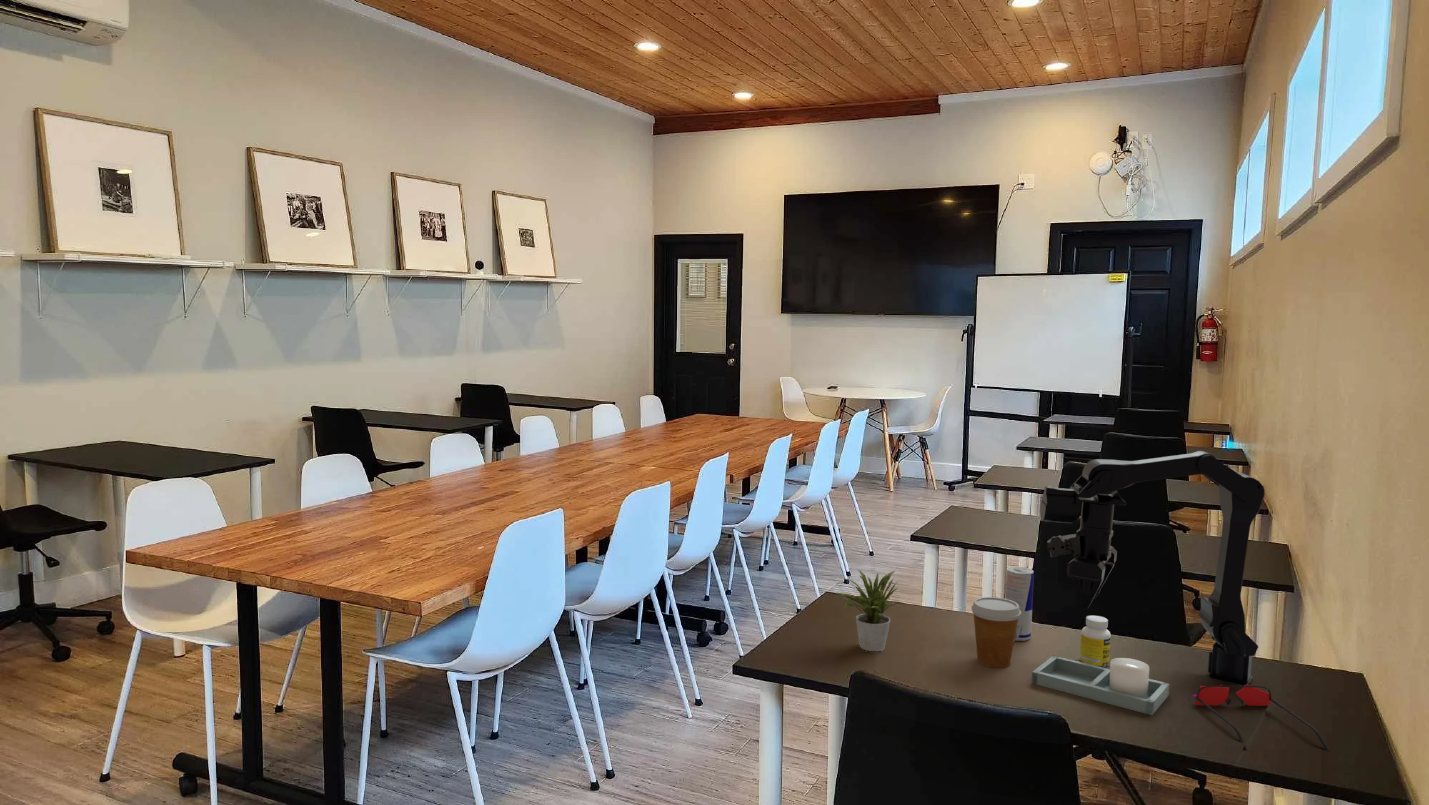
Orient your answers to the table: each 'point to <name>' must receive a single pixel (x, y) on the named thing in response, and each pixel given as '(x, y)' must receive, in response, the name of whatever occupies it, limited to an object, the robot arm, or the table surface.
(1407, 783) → the table surface
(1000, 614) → the disposable coffee cup
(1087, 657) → the supplement bottle
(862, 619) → the house plant
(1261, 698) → the glasses
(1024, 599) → the beverage can
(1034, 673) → the tray
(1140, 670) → the white pillar candle
